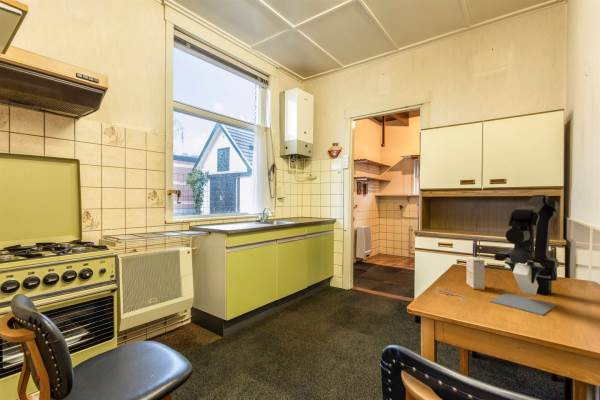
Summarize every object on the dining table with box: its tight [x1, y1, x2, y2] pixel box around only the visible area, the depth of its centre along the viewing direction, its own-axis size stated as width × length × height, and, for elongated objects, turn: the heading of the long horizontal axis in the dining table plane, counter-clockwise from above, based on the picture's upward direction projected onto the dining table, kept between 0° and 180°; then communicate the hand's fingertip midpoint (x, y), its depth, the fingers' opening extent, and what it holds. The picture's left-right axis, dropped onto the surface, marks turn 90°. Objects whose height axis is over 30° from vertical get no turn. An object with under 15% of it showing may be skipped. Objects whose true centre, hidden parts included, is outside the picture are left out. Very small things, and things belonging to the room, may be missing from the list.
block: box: [512, 263, 538, 296], centre depth 110 cm, size 4×4×13 cm
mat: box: [489, 292, 557, 316], centre depth 108 cm, size 16×16×1 cm
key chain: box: [437, 290, 467, 303], centre depth 117 cm, size 13×7×1 cm, turn 37°
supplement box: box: [466, 256, 486, 291], centre depth 128 cm, size 8×5×13 cm, turn 168°
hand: (524, 281), depth 109 cm, fingers closed on block, 4 cm apart
